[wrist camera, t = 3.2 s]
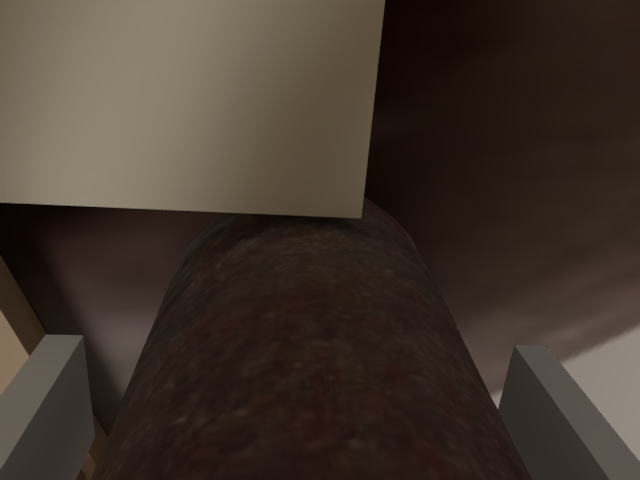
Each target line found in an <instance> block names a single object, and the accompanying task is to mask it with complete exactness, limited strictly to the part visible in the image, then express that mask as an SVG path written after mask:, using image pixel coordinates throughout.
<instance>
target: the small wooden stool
mask: <svg viewBox="0 0 640 480" xmlns="http://www.w3.org/2000/svg"><path fill="white" fill-rule="evenodd" d="M384 6H385V0H0V203H22V204H44V205H67V206H90V207H113V208H135V209H158V210H181V211H204V212H226V213H249V214H272V215H295V216H318V217H340V218H361V217H362V208H363V199H364V190H365V181H366V172H367V162H368V153H369V144H370V135H371V126H372V116H373V107H374V98H375V89H376V80H377V70H378V61H379V52H380V43H381V34H382V25H383V15H384Z"/></svg>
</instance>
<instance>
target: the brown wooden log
mask: <svg viewBox="0 0 640 480" xmlns="http://www.w3.org/2000/svg"><path fill="white" fill-rule="evenodd" d="M90 480H532V478H531V476H530V474H529V472H528V470H527V468H526V466H525V464H524V462H523V460H522V458H521V457H520V455H519V453H518V451H517V449H516V447H515V445H514V443H513V441H512V439H511V437H510V435H509V433H508V430H507V428H506V426H505V424H504V422H503V420H502V417H501V415H500V413H499V411H498V409H497V407H496V405H495V404H494V402H493V400H492V398H491V396H490V394H489V392H488V390H487V388H486V386H485V384H484V382H483V380H482V378H481V376H480V374H479V372H478V370H477V368H476V366H475V364H474V362H473V360H472V358H471V356H470V354H469V352H468V349H467V347H466V345H465V343H464V341H463V339H462V337H461V335H460V333H459V331H458V329H457V327H456V325H455V322H454V320H453V318H452V316H451V314H450V312H449V310H448V308H447V306H446V304H445V302H444V300H443V298H442V296H441V294H440V292H439V290H438V288H437V287H436V285H435V282H434V280H433V278H432V276H431V274H430V272H429V270H428V268H427V267H426V265H425V263H424V262H423V260H422V259H421V257H420V255H419V252H418V250H417V248H416V246H415V243H414V242H413V240H412V238H411V237H410V236H409V234H408V233H407V232H406V231H405V230H404V229H403V228H402V227H401V226H400V224H399V223H398V222H397V221H396V220H395V219H394V218H393V217H392V216H390V215H389V214H387V213H386V212H385V211H383V210H382V209H381V208H379V207H378V206H377V205H375V204H374V203H373V202H371V201H370V200H368V199H366V198H365V197H364V199H363V208H362V217H361V218H340V217H318V216H295V215H272V214H249V213H225V214H224V215H222V216H220V217H219V218H217V219H216V220H214V221H213V222H212V223H211V224H210V225H209V226H208V227H207V228H205V229H204V230H203V231H202V232H201V233H200V234H199V235H198V236H197V237H196V238H195V239H194V240H193V241H192V242H191V244H190V245H189V246H188V248H187V249H186V250H185V252H184V253H183V255H182V258H181V260H180V262H179V265H178V267H177V269H176V272H175V274H174V276H173V278H172V280H171V283H170V285H169V288H168V290H167V292H166V295H165V297H164V299H163V302H162V304H161V307H160V309H159V312H158V314H157V317H156V319H155V322H154V324H153V327H152V329H151V331H150V334H149V336H148V338H147V341H146V343H145V345H144V348H143V350H142V353H141V355H140V358H139V360H138V363H137V365H136V368H135V370H134V373H133V375H132V377H131V380H130V382H129V385H128V387H127V390H126V392H125V395H124V397H123V400H122V402H121V405H120V407H119V410H118V412H117V415H116V418H115V420H114V423H113V425H112V428H111V430H110V432H109V435H108V437H107V440H106V442H105V445H104V447H103V450H102V452H101V455H100V457H99V460H98V462H97V464H96V467H95V469H94V472H93V474H92V477H91V479H90Z"/></svg>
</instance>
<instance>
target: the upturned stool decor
mask: <svg viewBox="0 0 640 480" xmlns="http://www.w3.org/2000/svg"><path fill="white" fill-rule="evenodd" d="M45 335H47V333H46V332H45V330H44V328H43V326H42V325H41V323H40V321H39V320H38V318H37V316H36V315H35V313H34V311H33V309H32V308H31V306H30V304H29V303H28V301H27V299H26V298H25V296H24V294H23V292H22V291H21V289H20V287H19V286H18V284H17V282H16V281H15V279H14V277H13V275H12V274H11V272H10V270H9V269H8V267H7V265H6V264H5V262H4V260H3V258H2V257H1V255H0V396H1V395H2V393H3V392H4V390H5V389H6V388H7V386H8V385H9V384H10V382H11V381H12V380H13V378H14V377H15V376H16V374H17V373H18V371H19V370H20V369H21V367H22V366H23V365H24V363H25V362H26V361H27V359H28V358H29V357H30V355H31V354H32V352H33V351H34V350H35V348H36V347H37V346H38V344H39V343H40V342H41V340H42V339H43V338H44V336H45ZM92 413H93V412H92ZM93 422H94V430H95V438H94V440H93V442H92V445H91V447H90V449H89V451H88V454H87V456H86V458H85V460H84V463H83V465H82V467H81V470H80V472H79V474H78V476H77V479H76V480H90V479H91V477H92V474H93V472H94V469H95V467H96V464H97V462H98V460H99V457H100V455H101V452H102V450H103V447H104V445H105V442H106V440H107V435H106V434H105V432H104V430H103V429H102V427H101V425H100V423H99V422H98V420H97V418H96V417H95V415H94V413H93Z"/></svg>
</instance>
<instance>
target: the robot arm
mask: <svg viewBox="0 0 640 480" xmlns="http://www.w3.org/2000/svg"><path fill="white" fill-rule="evenodd" d="M498 411H499V413H500V415H501V417H502V420H503V422H504V424H505V426H506V428H507V430H508V433H509V435H510V437H511V439H512V441H513V443H514V445H515V447H516V449H517V451H518V453H519V455H520V457H521V458H522V460H523V462H524V464H525V466H526V468H527V470H528V472H529V474H530V476H531V478H532V480H640V462H639V460H638V459H637V458H636V457H635V455H634V454H633V453H632V452H631V450H630V449H629V448H628V447H627V445H626V444H625V443H624V442H623V440H622V439H621V438H620V437H619V435H618V434H617V433H616V432H615V430H614V429H613V428H612V427H611V426H610V424H609V423H608V422H607V421H606V419H605V418H604V417H603V415H602V414H601V413H600V412H599V411H598V409H597V408H596V407H595V406H594V404H593V403H592V402H591V401H590V399H589V398H588V397H587V396H586V394H585V393H584V392H583V391H582V389H581V388H580V387H579V386H578V384H577V383H576V382H575V381H574V379H573V378H572V377H571V376H570V375H569V373H568V372H567V371H566V369H565V368H564V367H563V366H562V365H561V363H560V362H559V361H558V360H557V358H556V357H555V356H554V355H553V353H552V352H551V351H550V350H549V348H548V347H547V346H533V345H514V349H513V353H512V357H511V361H510V365H509V369H508V373H507V376H506V380H505V384H504V388H503V392H502V396H501V400H500V404H499V408H498ZM94 438H95V430H94V422H93V413H92V405H91V396H90V388H89V379H88V371H87V363H86V354H85V346H84V337H83V335H45V336H44V338H43V339H42V340H41V342H40V343H39V344H38V346H37V347H36V348H35V350H34V351H33V352H32V354H31V355H30V357H29V358H28V359H27V361H26V362H25V363H24V365H23V366H22V367H21V369H20V370H19V371H18V373H17V374H16V376H15V377H14V378H13V380H12V381H11V382H10V384H9V385H8V386H7V388H6V389H5V390H4V392H3V393H2V395H1V396H0V480H76V479H77V476H78V474H79V472H80V470H81V467H82V465H83V463H84V460H85V458H86V456H87V454H88V451H89V449H90V447H91V445H92V442H93V440H94Z"/></svg>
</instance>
